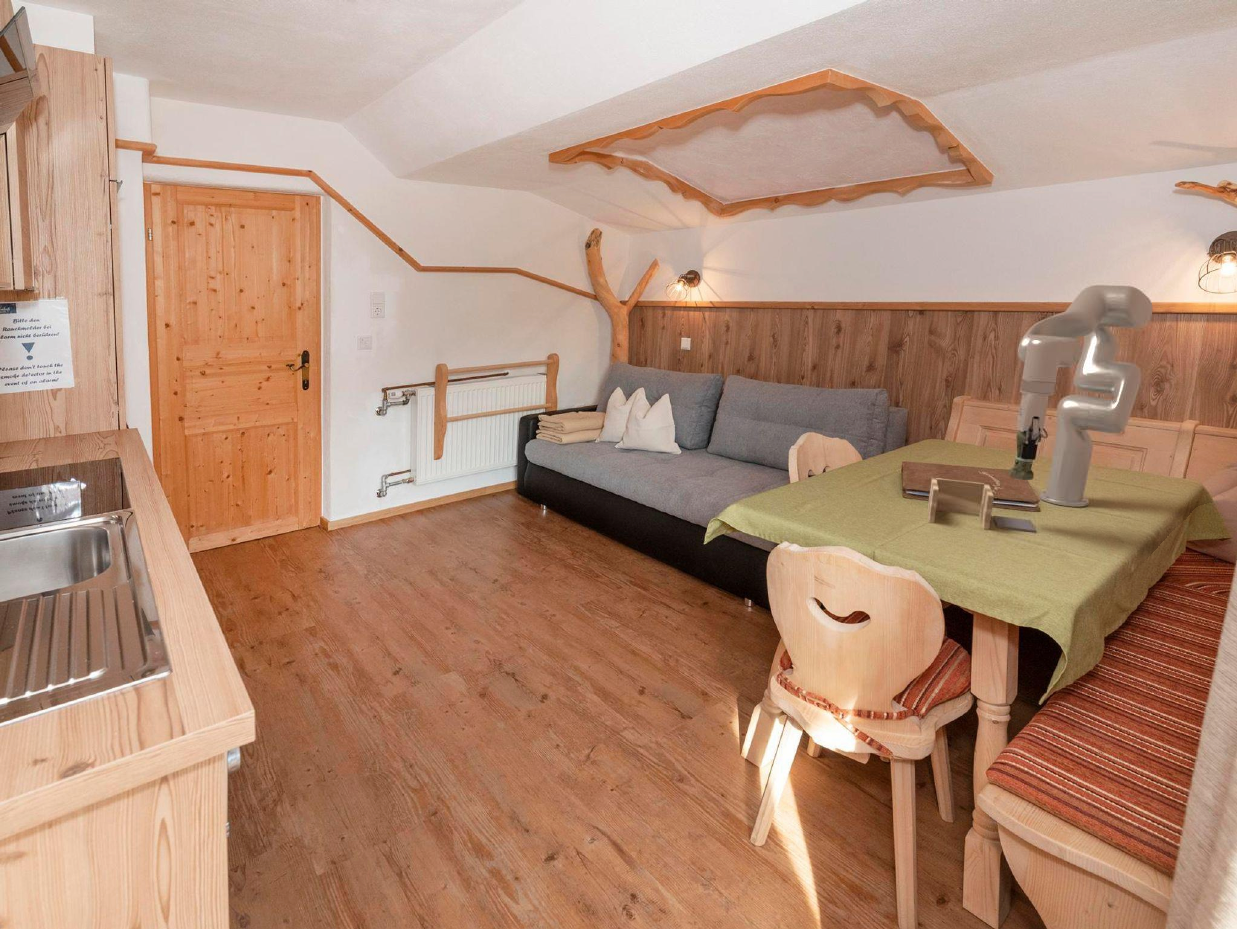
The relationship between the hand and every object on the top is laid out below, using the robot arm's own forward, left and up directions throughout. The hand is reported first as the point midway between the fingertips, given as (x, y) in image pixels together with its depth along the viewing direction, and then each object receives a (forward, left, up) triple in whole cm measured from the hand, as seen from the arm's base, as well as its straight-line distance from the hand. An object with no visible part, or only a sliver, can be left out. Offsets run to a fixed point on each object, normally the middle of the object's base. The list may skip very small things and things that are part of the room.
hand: (1025, 455), depth 190 cm
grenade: (0, 0, -6) cm, 6 cm away
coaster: (0, 0, -19) cm, 19 cm away
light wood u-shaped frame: (+1, -14, -19) cm, 24 cm away
